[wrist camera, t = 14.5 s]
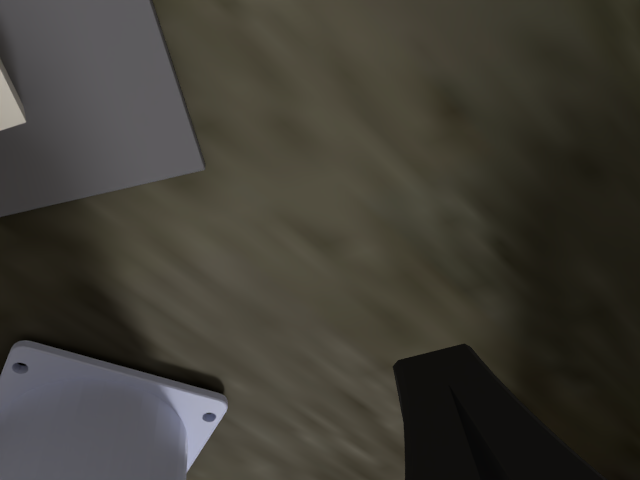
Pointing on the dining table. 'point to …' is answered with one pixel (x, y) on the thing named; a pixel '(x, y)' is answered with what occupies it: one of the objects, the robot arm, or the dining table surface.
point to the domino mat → (89, 102)
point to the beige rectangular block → (9, 102)
